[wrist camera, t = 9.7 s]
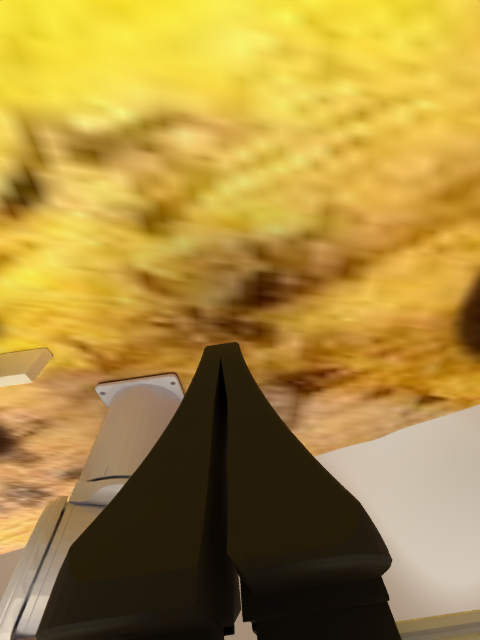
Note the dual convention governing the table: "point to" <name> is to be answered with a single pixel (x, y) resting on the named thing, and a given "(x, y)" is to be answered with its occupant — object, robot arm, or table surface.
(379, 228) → the table surface
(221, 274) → the table surface
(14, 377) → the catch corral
